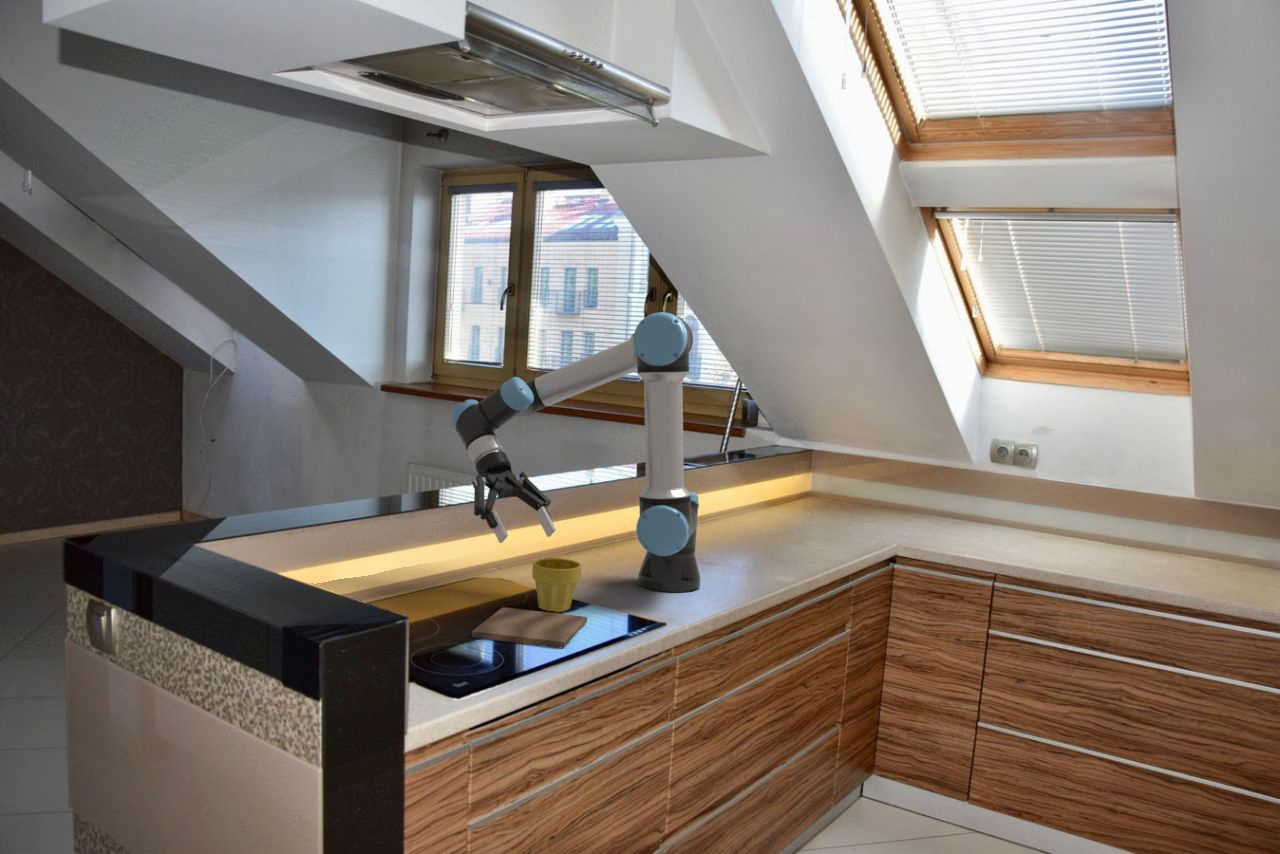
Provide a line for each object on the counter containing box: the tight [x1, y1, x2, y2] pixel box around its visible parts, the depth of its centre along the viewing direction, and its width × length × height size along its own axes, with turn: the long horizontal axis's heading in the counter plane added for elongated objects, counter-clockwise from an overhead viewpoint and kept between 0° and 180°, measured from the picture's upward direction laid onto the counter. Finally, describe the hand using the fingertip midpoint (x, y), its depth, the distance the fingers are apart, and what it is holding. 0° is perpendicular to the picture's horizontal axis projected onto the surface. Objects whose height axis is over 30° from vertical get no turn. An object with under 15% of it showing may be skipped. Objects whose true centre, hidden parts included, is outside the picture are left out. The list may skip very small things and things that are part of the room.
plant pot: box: [531, 557, 582, 613], centre depth 204 cm, size 10×10×10 cm
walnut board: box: [471, 606, 588, 649], centre depth 187 cm, size 18×18×1 cm
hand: (528, 536), depth 209 cm, fingers open, 13 cm apart
